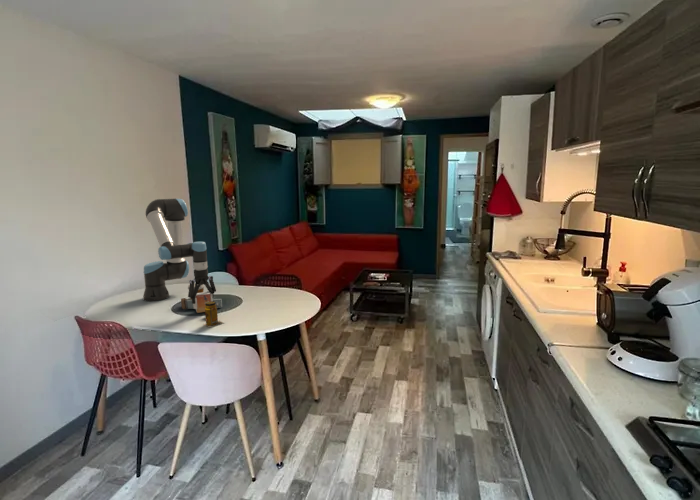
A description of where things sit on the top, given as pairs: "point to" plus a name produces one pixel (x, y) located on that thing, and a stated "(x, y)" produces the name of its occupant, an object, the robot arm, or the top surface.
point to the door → (190, 306)
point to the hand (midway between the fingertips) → (203, 306)
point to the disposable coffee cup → (198, 289)
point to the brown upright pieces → (183, 303)
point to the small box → (202, 301)
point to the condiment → (211, 314)
